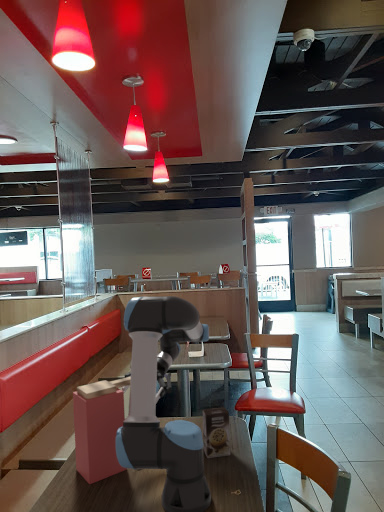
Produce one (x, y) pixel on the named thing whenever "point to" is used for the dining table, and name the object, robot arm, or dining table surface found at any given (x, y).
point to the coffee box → (216, 432)
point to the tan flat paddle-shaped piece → (102, 388)
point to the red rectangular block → (97, 434)
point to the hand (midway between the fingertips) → (138, 395)
